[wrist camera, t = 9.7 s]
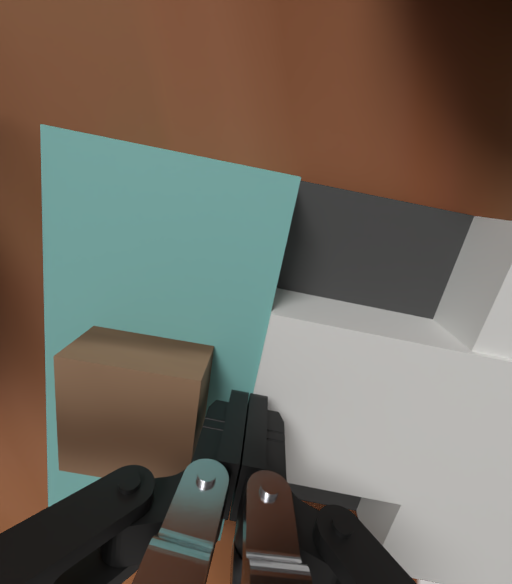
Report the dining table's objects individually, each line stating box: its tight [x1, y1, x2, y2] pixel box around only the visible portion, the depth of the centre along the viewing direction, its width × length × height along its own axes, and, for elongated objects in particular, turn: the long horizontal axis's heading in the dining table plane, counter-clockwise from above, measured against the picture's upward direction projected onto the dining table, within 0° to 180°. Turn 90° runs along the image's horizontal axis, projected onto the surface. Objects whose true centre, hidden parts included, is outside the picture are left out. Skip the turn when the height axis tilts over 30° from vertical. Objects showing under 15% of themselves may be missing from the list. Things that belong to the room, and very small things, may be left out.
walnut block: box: [53, 326, 214, 478], centre depth 13 cm, size 5×5×2 cm
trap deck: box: [40, 124, 512, 584], centre depth 15 cm, size 18×25×4 cm
